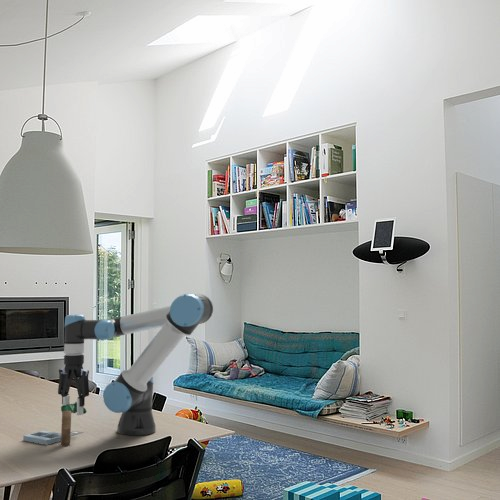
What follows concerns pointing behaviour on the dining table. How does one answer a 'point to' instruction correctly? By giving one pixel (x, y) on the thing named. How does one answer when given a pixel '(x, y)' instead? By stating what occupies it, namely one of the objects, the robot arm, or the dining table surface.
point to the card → (75, 433)
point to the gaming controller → (71, 408)
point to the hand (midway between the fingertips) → (72, 413)
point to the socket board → (43, 437)
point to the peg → (66, 428)
